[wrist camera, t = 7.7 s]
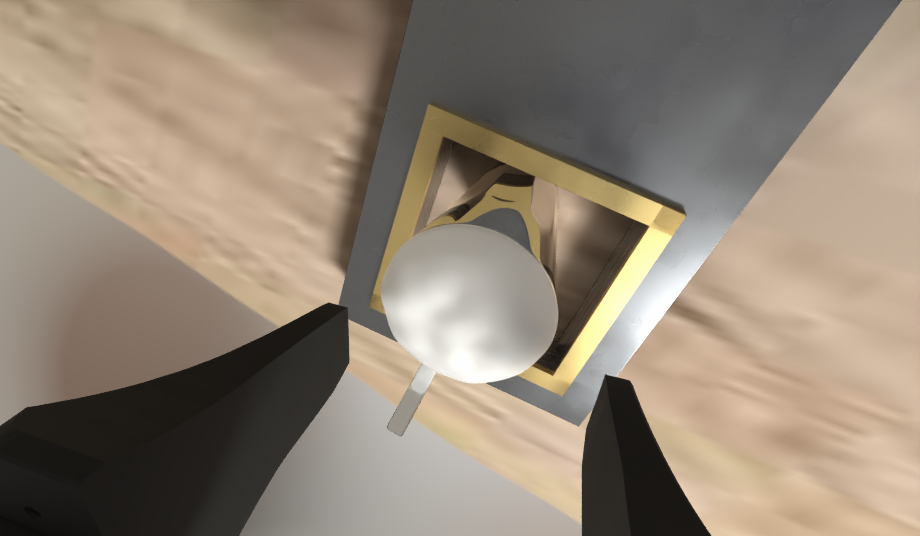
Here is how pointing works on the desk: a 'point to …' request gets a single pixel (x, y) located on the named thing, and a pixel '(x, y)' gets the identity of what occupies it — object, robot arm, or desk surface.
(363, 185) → the desk surface
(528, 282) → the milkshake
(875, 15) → the grey board with holes
